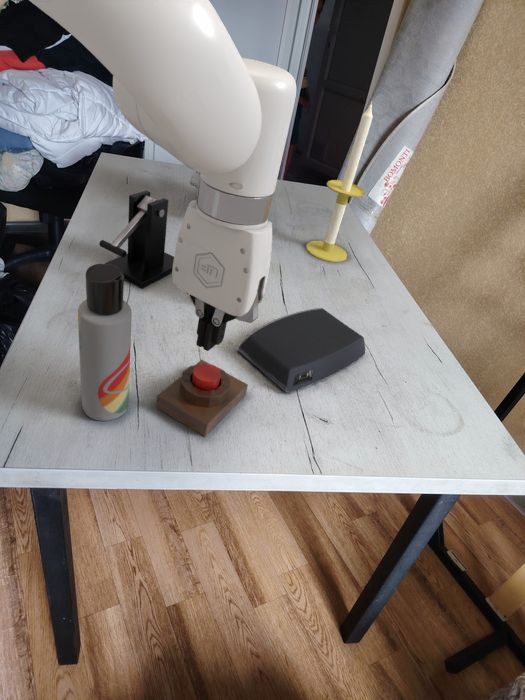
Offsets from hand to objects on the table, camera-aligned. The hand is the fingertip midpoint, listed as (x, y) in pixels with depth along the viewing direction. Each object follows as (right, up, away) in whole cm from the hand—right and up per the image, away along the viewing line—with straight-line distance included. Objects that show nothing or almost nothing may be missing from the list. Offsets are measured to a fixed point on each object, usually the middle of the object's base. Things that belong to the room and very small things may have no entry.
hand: (208, 343), depth 59 cm
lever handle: (-15, +20, +24) cm, 35 cm away
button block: (-2, -8, +6) cm, 10 cm away
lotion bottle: (-14, -8, +2) cm, 16 cm away
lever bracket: (-16, +15, +31) cm, 38 cm away
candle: (+22, +22, +53) cm, 62 cm away
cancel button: (-1, -5, +4) cm, 7 cm away
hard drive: (+13, -2, +20) cm, 24 cm away
